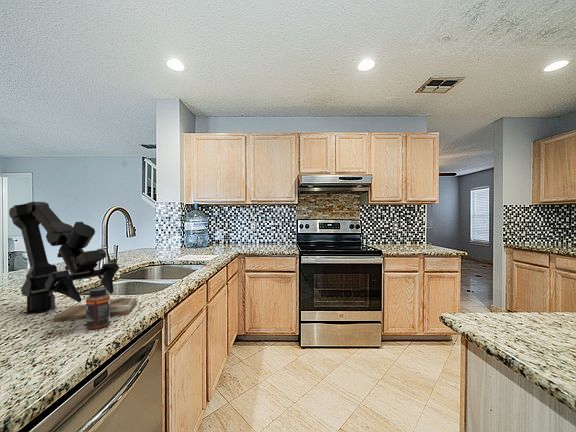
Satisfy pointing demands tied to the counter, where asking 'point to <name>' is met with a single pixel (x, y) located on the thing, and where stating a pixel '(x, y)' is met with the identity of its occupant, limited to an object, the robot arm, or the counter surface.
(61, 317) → the walnut board
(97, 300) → the supplement bottle
